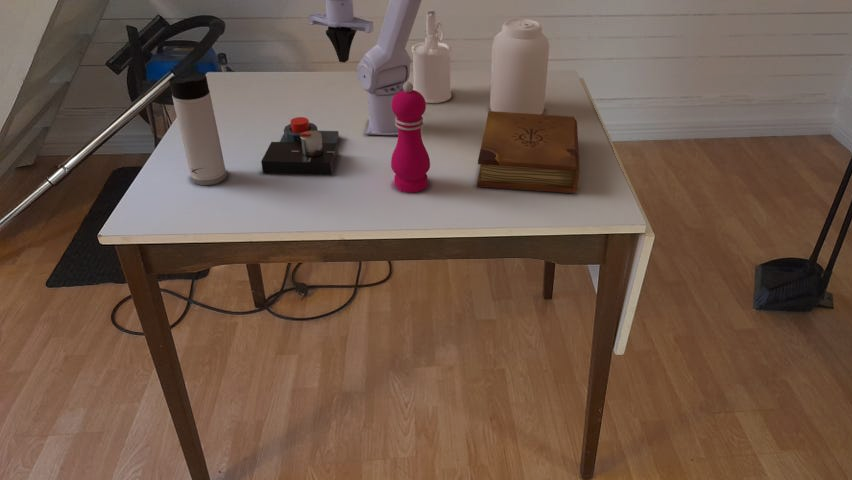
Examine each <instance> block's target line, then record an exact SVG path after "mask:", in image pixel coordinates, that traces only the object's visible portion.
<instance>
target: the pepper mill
mask: <svg viewBox="0 0 852 480" xmlns="http://www.w3.org/2000/svg"><path fill="white" fill-rule="evenodd" d="M426 109H427V103H425V99H424V97H423V96H422V95H421V94H420V93H419V92H417V91H415V90H414V84H413V83H412V82H410V81H407V82H405V84H404V85H403V90H402V91H400V92H398V93H397V94H396V95H395V96H394V97H393V99H392V111H393V113H394V114H395V115H396V117H395V121H396V122H395V125H396V127H397V128H398V135H397V142H396V145H395V148H394V150H393V151H392V153H391V154H392V155H391V158H390V168H391V170H392V172H393V173H394V176H393V179H394V186H395V188H396V189H397V190H398V191H400V192H403V193H411V194H413V193H419V192H422V191H424V190H426V188H427V187H428V185H429V177H428V176H429V175H428V174H427V173H428V172H429V171H430V168H431V160H430V157H429V153H428V150H427V149H426V147H425V144H424V141H423V139H422V127H423V126H424V117H423V115H424V114H425V112H426Z"/></svg>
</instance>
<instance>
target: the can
mask: <svg viewBox="0 0 852 480" xmlns="http://www.w3.org/2000/svg"><path fill="white" fill-rule="evenodd" d="M549 56H550V42H549V39H548V37H547V36H546V35H545V34H544V33H543V27H542V24H541V23H540V22H539V21H536V20H533V19H529V18H512V19H507V20H505V21H504V22H503V24H502V26H501V30H500V31H499V32H498V33H497V34H496V35H494V39H493V41H492V47H491V71H490V73H491V74H490V93H489V95H490V97H489V108H490V111H495V112H510V113H526V114H541V115H543V113H544V111H545V101H546V90H547V78H548V68H549V67H548V65H549Z"/></svg>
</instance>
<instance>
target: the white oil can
mask: <svg viewBox="0 0 852 480" xmlns="http://www.w3.org/2000/svg"><path fill="white" fill-rule="evenodd" d="M425 19H426V21H425V23H426V26H425V27H426V28H425V29H426V30H425V32H426V35H427V36H425V37H424V40H425V41H422V42H418V43H415V44H414V45H412V46H411V48H410V49H411V50H410V51H411V52H412V71H413V72H412V77H413V78H412V79H413V90H415V91H417V92H419V93H420V94H421V95H422V96H423V97H424V99H425V103H426V104H440V103H444V102H446V101H448V100H450V99H451V98H452V96H453V95H452V92H451V62H452V61H451V56H452V55H451V53H452V51H453V49H452V46H451V45H449V44H447V43H445V42H442V41H443V39H444V28H443V27H444V26H443V24H442V22H440V21H436V11H435V10H434V9H428V10H427V11H426V17H425ZM439 27H440V37H439V31H438V29H439Z"/></svg>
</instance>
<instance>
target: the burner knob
mask: <svg viewBox="0 0 852 480" xmlns="http://www.w3.org/2000/svg"><path fill="white" fill-rule="evenodd" d="M318 131H319V130H318ZM318 131H306V132H303V133H300V138H301V146H302V153H303V154H304V155H305V156H311V157H313V156H318V155H321V154H322V153H323V143H322V134H321V133H320V132H318Z"/></svg>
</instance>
